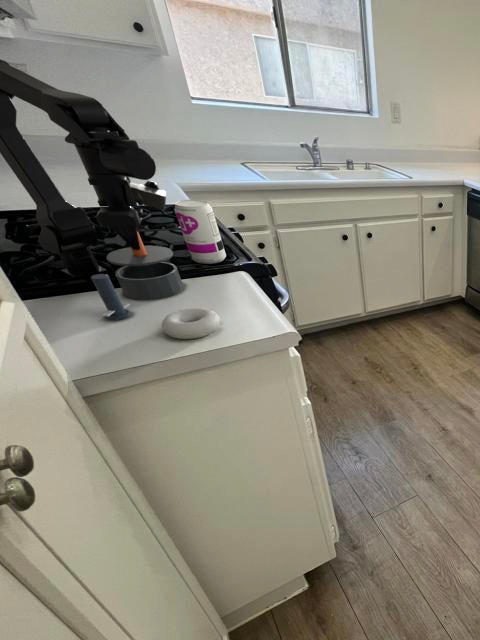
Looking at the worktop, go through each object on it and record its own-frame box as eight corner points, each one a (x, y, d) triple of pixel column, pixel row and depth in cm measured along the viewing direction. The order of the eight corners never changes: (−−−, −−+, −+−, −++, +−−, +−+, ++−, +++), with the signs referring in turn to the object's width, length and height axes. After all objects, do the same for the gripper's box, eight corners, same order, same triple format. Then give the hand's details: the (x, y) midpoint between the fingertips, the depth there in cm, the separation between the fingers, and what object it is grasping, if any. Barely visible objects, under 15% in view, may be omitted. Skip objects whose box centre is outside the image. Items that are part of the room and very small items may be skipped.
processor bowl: (114, 290, 96) (104, 269, 93) (166, 276, 105) (159, 257, 102) (141, 304, 93) (132, 284, 90) (193, 289, 101) (186, 270, 98)
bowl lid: (97, 258, 92) (83, 230, 88) (156, 246, 100) (146, 221, 97) (126, 273, 88) (113, 244, 84) (185, 259, 97) (176, 233, 93)
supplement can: (208, 266, 112) (189, 209, 103) (184, 260, 114) (164, 202, 105) (233, 258, 118) (218, 203, 109) (211, 251, 120) (193, 197, 111)
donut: (153, 336, 84) (196, 346, 83) (145, 321, 82) (190, 331, 81) (193, 316, 92) (233, 324, 91) (187, 301, 90) (228, 309, 89)
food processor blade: (119, 324, 85) (98, 283, 80) (98, 323, 85) (76, 282, 80) (139, 309, 91) (121, 270, 86) (119, 308, 90) (100, 269, 85)
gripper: (154, 182, 81) (182, 258, 91) (155, 163, 93) (180, 232, 103) (78, 182, 76) (116, 263, 85) (90, 161, 88) (122, 235, 97)
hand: (137, 247), depth 93 cm, fingers closed on bowl lid, 2 cm apart
